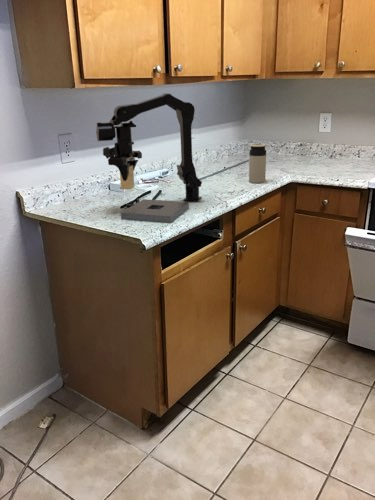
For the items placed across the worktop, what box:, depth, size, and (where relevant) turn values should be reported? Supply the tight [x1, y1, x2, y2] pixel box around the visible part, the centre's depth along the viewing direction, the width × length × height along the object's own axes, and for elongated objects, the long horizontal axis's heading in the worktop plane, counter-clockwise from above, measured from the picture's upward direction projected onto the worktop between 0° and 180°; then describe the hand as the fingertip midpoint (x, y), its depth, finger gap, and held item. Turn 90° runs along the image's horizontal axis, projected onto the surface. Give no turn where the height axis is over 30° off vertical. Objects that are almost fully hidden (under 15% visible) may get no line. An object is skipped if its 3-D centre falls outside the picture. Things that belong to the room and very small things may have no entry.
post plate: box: [120, 198, 190, 224], centre depth 171 cm, size 20×20×2 cm
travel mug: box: [248, 143, 267, 184], centre depth 214 cm, size 8×8×18 cm
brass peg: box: [119, 165, 135, 190], centre depth 176 cm, size 4×4×9 cm
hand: (127, 179), depth 177 cm, fingers closed on brass peg, 4 cm apart
